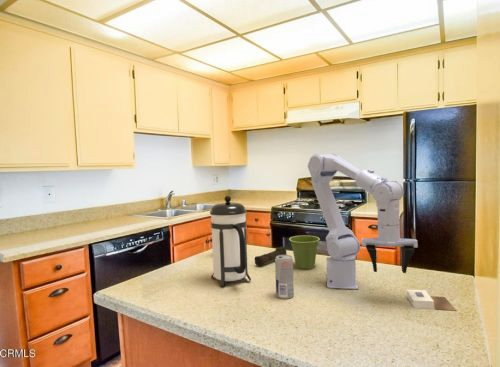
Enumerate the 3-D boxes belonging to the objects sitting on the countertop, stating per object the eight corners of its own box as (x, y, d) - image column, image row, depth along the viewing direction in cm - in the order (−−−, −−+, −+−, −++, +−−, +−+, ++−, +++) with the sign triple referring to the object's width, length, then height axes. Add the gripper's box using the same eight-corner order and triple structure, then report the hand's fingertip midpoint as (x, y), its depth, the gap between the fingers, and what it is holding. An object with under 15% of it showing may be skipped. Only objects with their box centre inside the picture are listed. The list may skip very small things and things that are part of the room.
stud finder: (413, 309, 88) (413, 298, 88) (406, 297, 96) (406, 288, 95) (434, 310, 87) (434, 299, 87) (425, 298, 94) (425, 288, 94)
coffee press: (199, 285, 110) (195, 197, 109) (223, 271, 125) (220, 194, 123) (245, 292, 103) (241, 198, 101) (264, 276, 117) (262, 194, 116)
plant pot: (284, 265, 130) (283, 237, 130) (308, 261, 135) (308, 234, 135) (300, 273, 119) (300, 243, 119) (326, 268, 124) (326, 239, 124)
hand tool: (261, 266, 127) (260, 255, 128) (254, 265, 130) (253, 254, 130) (291, 256, 141) (290, 246, 141) (284, 255, 144) (283, 245, 144)
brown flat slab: (435, 309, 86) (435, 308, 86) (425, 296, 95) (425, 295, 95) (456, 310, 85) (456, 310, 85) (444, 297, 94) (444, 296, 94)
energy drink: (283, 291, 103) (282, 253, 102) (297, 295, 99) (296, 256, 98) (272, 296, 99) (271, 257, 99) (286, 300, 95) (285, 260, 95)
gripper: (363, 226, 90) (364, 274, 90) (420, 226, 86) (421, 277, 87) (360, 222, 97) (361, 267, 97) (413, 222, 93) (414, 269, 94)
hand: (389, 271), depth 93 cm, fingers open, 7 cm apart
